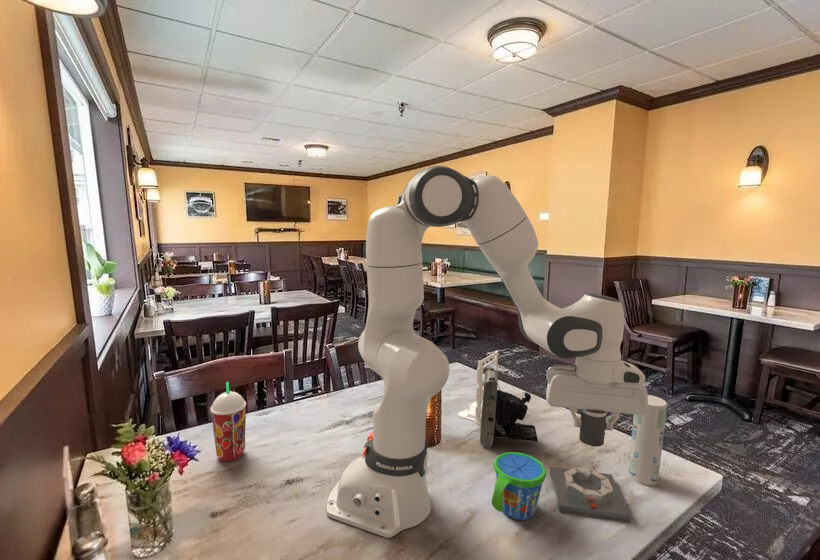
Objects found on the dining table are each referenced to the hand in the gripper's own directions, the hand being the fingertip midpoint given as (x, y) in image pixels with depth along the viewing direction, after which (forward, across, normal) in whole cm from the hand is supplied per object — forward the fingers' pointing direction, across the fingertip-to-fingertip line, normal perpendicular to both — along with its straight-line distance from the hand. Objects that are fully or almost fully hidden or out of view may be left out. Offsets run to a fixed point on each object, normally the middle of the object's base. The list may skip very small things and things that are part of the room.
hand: (592, 427), depth 88 cm
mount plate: (+16, 0, 0) cm, 16 cm away
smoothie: (+16, -88, -5) cm, 90 cm away
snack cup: (+16, -16, -8) cm, 24 cm away
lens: (+3, 0, 0) cm, 3 cm away
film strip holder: (+17, -24, +34) cm, 45 cm away
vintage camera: (+17, -17, +19) cm, 30 cm away
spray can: (+17, +15, +10) cm, 24 cm away
